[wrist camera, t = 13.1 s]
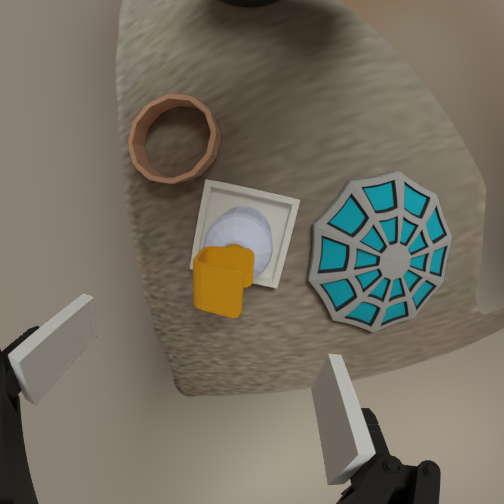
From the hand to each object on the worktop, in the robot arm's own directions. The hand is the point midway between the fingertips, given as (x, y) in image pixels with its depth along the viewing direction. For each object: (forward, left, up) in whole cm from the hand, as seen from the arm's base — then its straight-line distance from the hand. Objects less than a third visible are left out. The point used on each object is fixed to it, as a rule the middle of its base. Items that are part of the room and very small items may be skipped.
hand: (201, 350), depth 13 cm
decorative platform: (-2, +26, -34) cm, 43 cm away
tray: (0, 0, -33) cm, 33 cm away
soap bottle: (0, 0, -33) cm, 33 cm away
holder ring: (-13, -14, -33) cm, 38 cm away
